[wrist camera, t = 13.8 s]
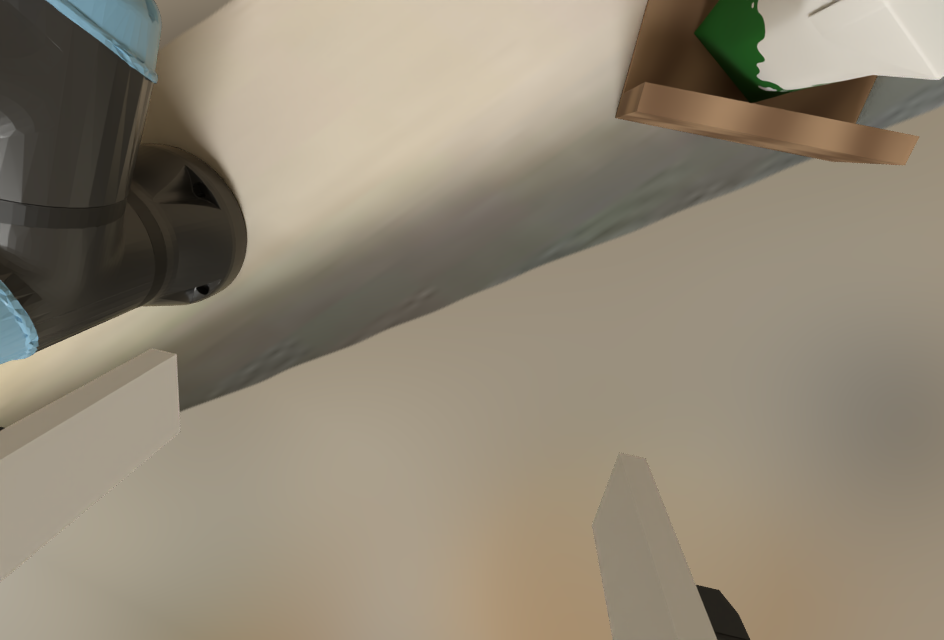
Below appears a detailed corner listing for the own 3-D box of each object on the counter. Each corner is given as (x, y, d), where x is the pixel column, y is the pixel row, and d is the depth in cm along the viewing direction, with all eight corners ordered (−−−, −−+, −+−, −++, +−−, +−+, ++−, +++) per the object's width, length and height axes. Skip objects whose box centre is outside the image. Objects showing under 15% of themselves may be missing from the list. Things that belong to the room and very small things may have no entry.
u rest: (615, 117, 38) (636, 111, 31) (681, -119, 33) (726, -194, 26) (831, 161, 38) (904, 165, 31) (936, -71, 32) (1056, -134, 25)
